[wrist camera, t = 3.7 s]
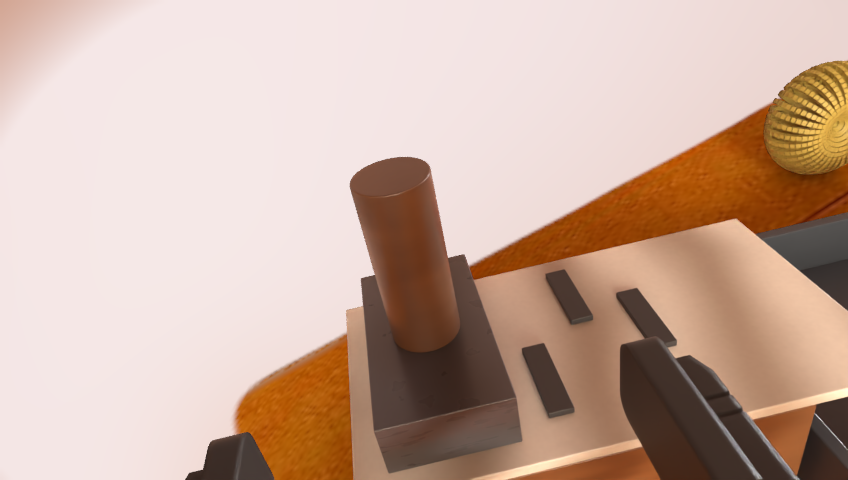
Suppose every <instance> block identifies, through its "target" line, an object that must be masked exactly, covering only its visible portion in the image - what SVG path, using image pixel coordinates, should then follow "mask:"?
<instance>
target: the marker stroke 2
mask: <svg viewBox="0 0 848 480" xmlns="http://www.w3.org/2000/svg"><path fill="white" fill-rule="evenodd" d="M522 354H523V356H524V359H525V361H526V364H527V366H528V368H529V371H530V373H531V376H532V378H533V381H534V383H535V385H536V388H537V390H538V393H539V395H540V398H541V400H542V402H543V405H544V407H545V410H546V412H547V415H548V417H549V418H554V417H558V416H562V415H566V414H570V413H574V412H575V408H574V405H573V403H572V401H571V399H570V397H569V395H568V392H567V390H566V388H565V386H564V384H563V382H562V380H561V378H560V375H559V373H558V371H557V369H556V367H555V365H554V363H553V360H552V358H551V356H550V354H549V352H548V350H547V348H546V346H545V343H541V344H536V345H532V346H528V347H524V348H522Z"/></svg>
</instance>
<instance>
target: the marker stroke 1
mask: <svg viewBox="0 0 848 480" xmlns="http://www.w3.org/2000/svg"><path fill="white" fill-rule="evenodd" d="M545 275H546V279H547V281H548V283H549V285H550V287H551V288H552V290H553V292H554V294H555V296H556V298H557V299H558V301H559V303H560V305H561V307H562V308H563V310H564V312H565V314H566V316H567V318H568V319H569V321H570V323H571V325H574V324H578V323H583V322H587V321H591V320H593V314H592V313H591V311H590V309H589V308H588V306H587V304H586V303H585V301H584V300H583V298H582V296H581V295H580V293H579V291H578V290H577V288H576V286H575V285H574V283H573V282H572V280H571V278H570V277H569V275H568V273H567V272H566V270H565V269H563V270H559V271H554V272H550V273H546V274H545Z"/></svg>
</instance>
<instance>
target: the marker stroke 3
mask: <svg viewBox="0 0 848 480" xmlns="http://www.w3.org/2000/svg"><path fill="white" fill-rule="evenodd" d="M616 298H617V299H618V301H619V302H620V303H621V305H622V306H623V308H624V309H625V311H626V312H627V314H628V315H629V316H630V318H631V319H632V321H633V322H634V324H635V325H636V327H637V328H638V329H639V331H640V332H641V334H642V335H643V337H644V338H645V339H646V338H650V337H654V336H657V337H659V338H660V339H661V340H662V341H663V342H664V343H665V345H666V346H667V348H668V347H672V346H676V345H677V339H676V338H675V337H674V336H673V334H672V333H671V332H670V330H669V329H668V328H667V326H666V325H665V324H664V322H663V321H662V320H661V318H660V317H659V316H658V314H657V313H656V312H655V311H654V309H653V308H652V307H651V305H650V304H649V303H648V301H647V300H646V299H645V297H644V296H643V295H642V293H641V292H640V291H639V290H638V288H634V289H629V290H625V291H621V292H617V293H616Z"/></svg>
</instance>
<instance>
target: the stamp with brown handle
mask: <svg viewBox="0 0 848 480" xmlns="http://www.w3.org/2000/svg"><path fill="white" fill-rule="evenodd" d="M350 189H351V193H352V196H353V200H354V203H355V207H356V210H357V214H358V217H359V220H360V224H361V228H362V231H363V235H364V238H365V242H366V245H367V249H368V252H369V256H370V259H371V263H372V266H373V269H374V273H375V275H373V276H369V277H365V278H361V286H362V298H363V310H364V322H365V334H366V346H367V358H368V370H369V381H370V393H371V405H372V417H373V429H374V434H375V437H376V439H377V442H378V445H379V448H380V451H381V454H382V456H383V459H384V462H385V465H386V468H387V471H388V473H394V472H398V471H402V470H406V469H410V468H414V467H419V466H423V465H427V464H431V463H435V462H439V461H443V460H448V459H452V458H456V457H460V456H464V455H468V454H472V453H477V452H481V451H485V450H489V449H493V448H497V447H501V446H506V445H510V444H514V443H518V442H522V433H521V425H520V418H519V411H518V404H517V397H516V394H515V391H514V389H513V386H512V383H511V380H510V378H509V375H508V372H507V370H506V367H505V364H504V361H503V359H502V356H501V353H500V350H499V348H498V345H497V342H496V339H495V337H494V334H493V331H492V329H491V326H490V323H489V320H488V318H487V315H486V312H485V309H484V307H483V304H482V301H481V298H480V296H479V293H478V290H477V288H476V285H475V282H474V279H473V277H472V274H471V271H470V268H469V266H468V263H467V260H466V257H465V255H459V256H454V257H450V258H448V256H447V251H446V247H445V241H444V236H443V231H442V226H441V221H440V216H439V211H438V205H437V200H436V195H435V191H434V185H433V180H432V175H431V169H430V166H429V165H428V164H427V163H426V162H425V161H423V160H421V159H418V158H412V157H397V158H390V159H385V160H382V161H378V162H375V163H373V164H371V165H368V166H367V167H365V168H363V169H361V170H360V171H359V172H357V173H356V174H355V175H354V176H353V178H352V179H351V181H350Z"/></svg>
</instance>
